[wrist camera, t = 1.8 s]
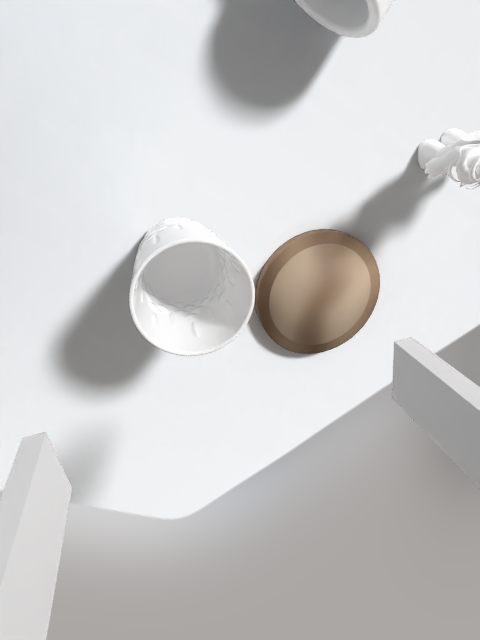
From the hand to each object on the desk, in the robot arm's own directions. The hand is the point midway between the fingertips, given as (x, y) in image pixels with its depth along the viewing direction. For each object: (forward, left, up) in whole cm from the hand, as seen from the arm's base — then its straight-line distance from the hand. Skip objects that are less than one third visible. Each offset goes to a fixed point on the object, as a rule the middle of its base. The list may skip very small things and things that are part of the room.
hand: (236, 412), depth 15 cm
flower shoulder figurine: (+24, +5, -22) cm, 33 cm away
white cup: (0, 0, -22) cm, 22 cm away
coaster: (+12, -6, -21) cm, 25 cm away
